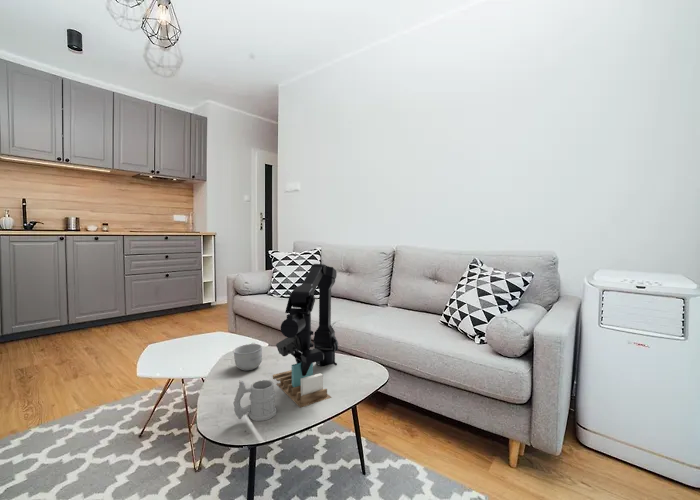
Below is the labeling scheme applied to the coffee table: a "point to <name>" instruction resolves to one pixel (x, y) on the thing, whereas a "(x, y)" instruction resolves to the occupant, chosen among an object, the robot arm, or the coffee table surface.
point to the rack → (296, 393)
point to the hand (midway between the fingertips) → (302, 374)
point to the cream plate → (311, 384)
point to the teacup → (248, 356)
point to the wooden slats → (282, 375)
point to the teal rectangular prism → (299, 374)
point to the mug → (256, 400)
